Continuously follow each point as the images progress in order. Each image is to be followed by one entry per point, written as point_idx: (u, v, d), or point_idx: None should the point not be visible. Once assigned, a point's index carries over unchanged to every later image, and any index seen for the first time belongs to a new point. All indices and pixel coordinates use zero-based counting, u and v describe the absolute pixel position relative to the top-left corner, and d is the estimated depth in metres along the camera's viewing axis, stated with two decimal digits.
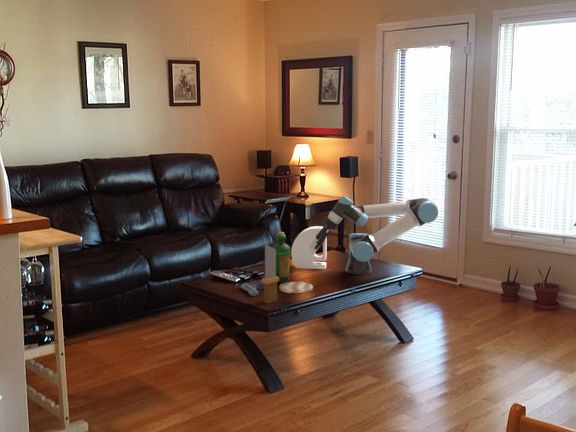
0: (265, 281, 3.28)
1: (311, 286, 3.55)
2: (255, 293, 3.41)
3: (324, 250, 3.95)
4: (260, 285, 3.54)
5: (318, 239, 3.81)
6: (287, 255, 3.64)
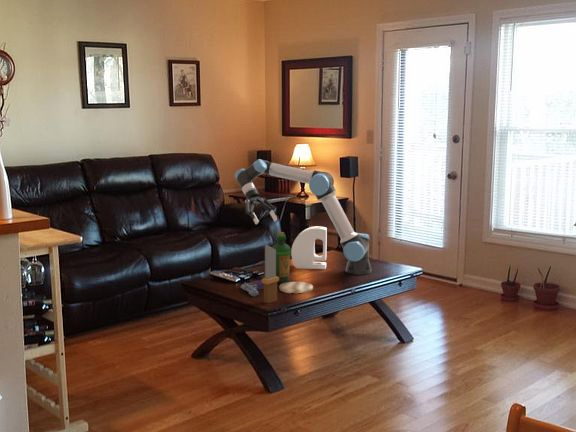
0: (265, 281, 3.28)
1: (311, 286, 3.55)
2: (255, 293, 3.41)
3: (324, 250, 3.95)
4: (260, 285, 3.54)
5: None
6: (287, 255, 3.64)
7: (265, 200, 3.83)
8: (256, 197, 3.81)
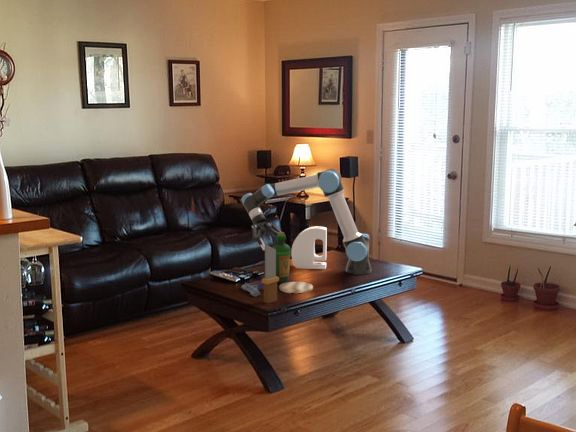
0: (265, 281, 3.28)
1: (311, 286, 3.55)
2: (257, 293, 3.41)
3: (324, 250, 3.95)
4: (261, 285, 3.53)
5: None
6: (287, 255, 3.64)
7: (272, 225, 3.79)
8: (263, 222, 3.77)
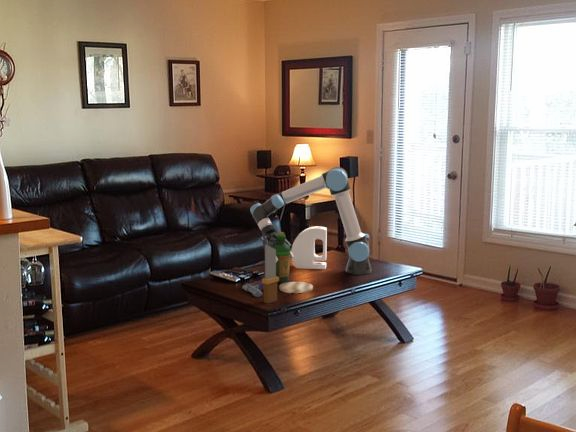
0: (265, 281, 3.28)
1: (311, 286, 3.55)
2: (259, 294, 3.41)
3: (324, 250, 3.95)
4: (262, 285, 3.53)
5: None
6: (287, 255, 3.64)
7: None
8: (272, 232, 3.73)
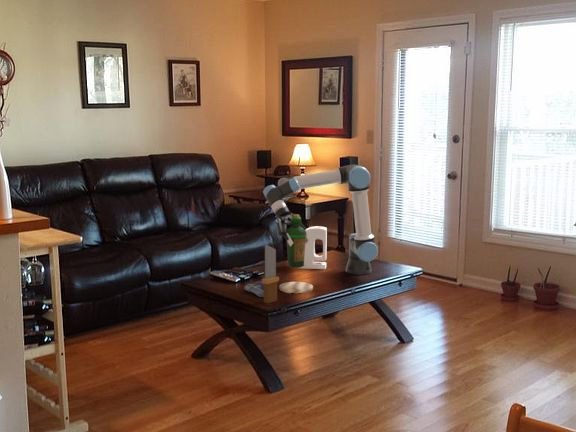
0: (265, 281, 3.28)
1: (311, 286, 3.55)
2: (263, 294, 3.40)
3: (324, 250, 3.95)
4: None
5: None
6: (302, 238, 3.47)
7: None
8: (287, 215, 3.56)
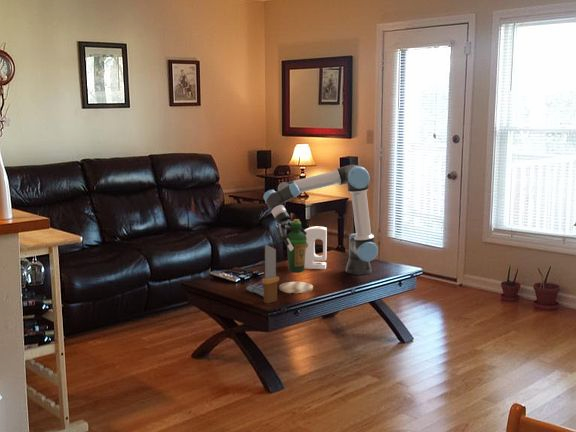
0: (265, 281, 3.28)
1: (311, 286, 3.55)
2: None
3: (324, 250, 3.95)
4: None
5: None
6: (303, 243, 3.47)
7: None
8: (287, 220, 3.56)
